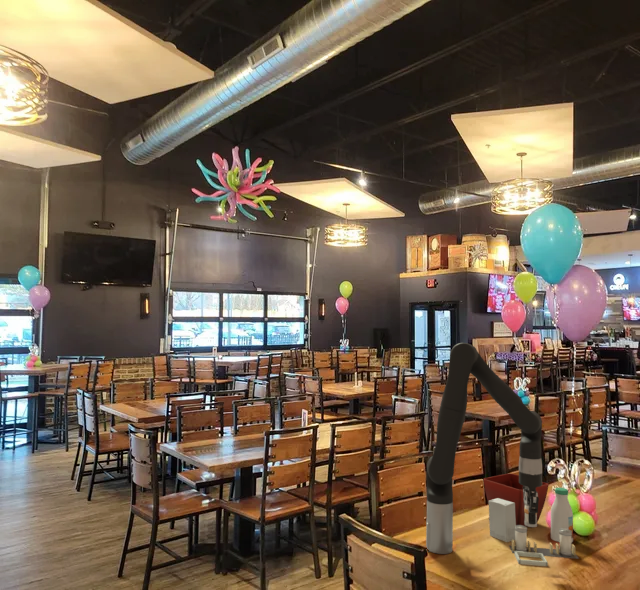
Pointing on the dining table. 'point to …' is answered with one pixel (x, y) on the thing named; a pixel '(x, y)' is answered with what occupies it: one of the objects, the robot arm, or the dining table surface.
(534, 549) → the fuse block
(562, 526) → the milk bottle
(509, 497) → the plant pot
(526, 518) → the fuse marked
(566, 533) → the cylinder
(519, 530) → the cylinder
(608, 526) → the dining table surface
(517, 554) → the grey square frame
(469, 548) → the dining table surface
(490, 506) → the skincare box
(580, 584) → the dining table surface
